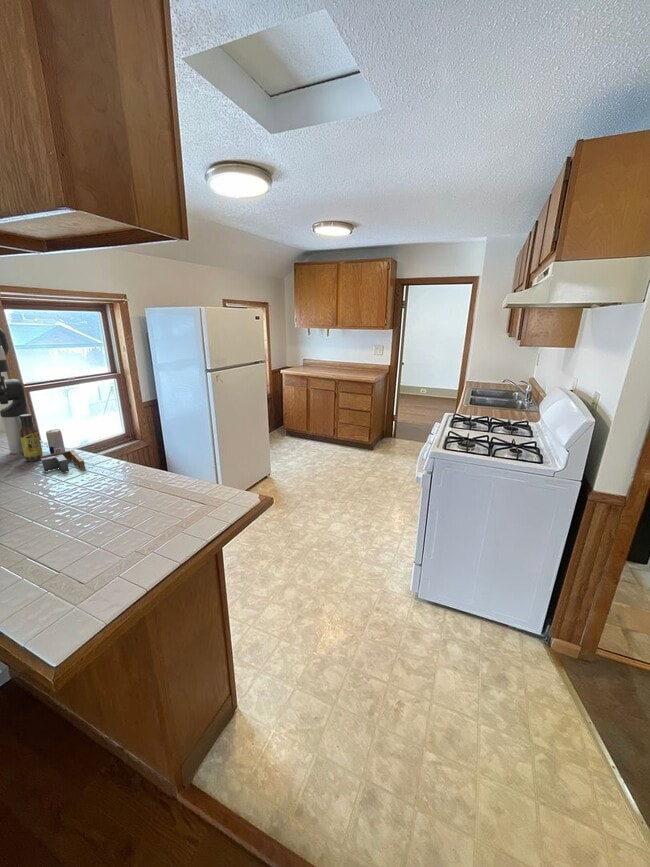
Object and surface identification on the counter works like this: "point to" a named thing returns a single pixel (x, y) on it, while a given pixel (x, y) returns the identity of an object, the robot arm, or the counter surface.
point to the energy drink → (55, 441)
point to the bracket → (55, 463)
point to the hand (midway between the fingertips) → (3, 402)
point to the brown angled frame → (70, 458)
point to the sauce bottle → (30, 439)
